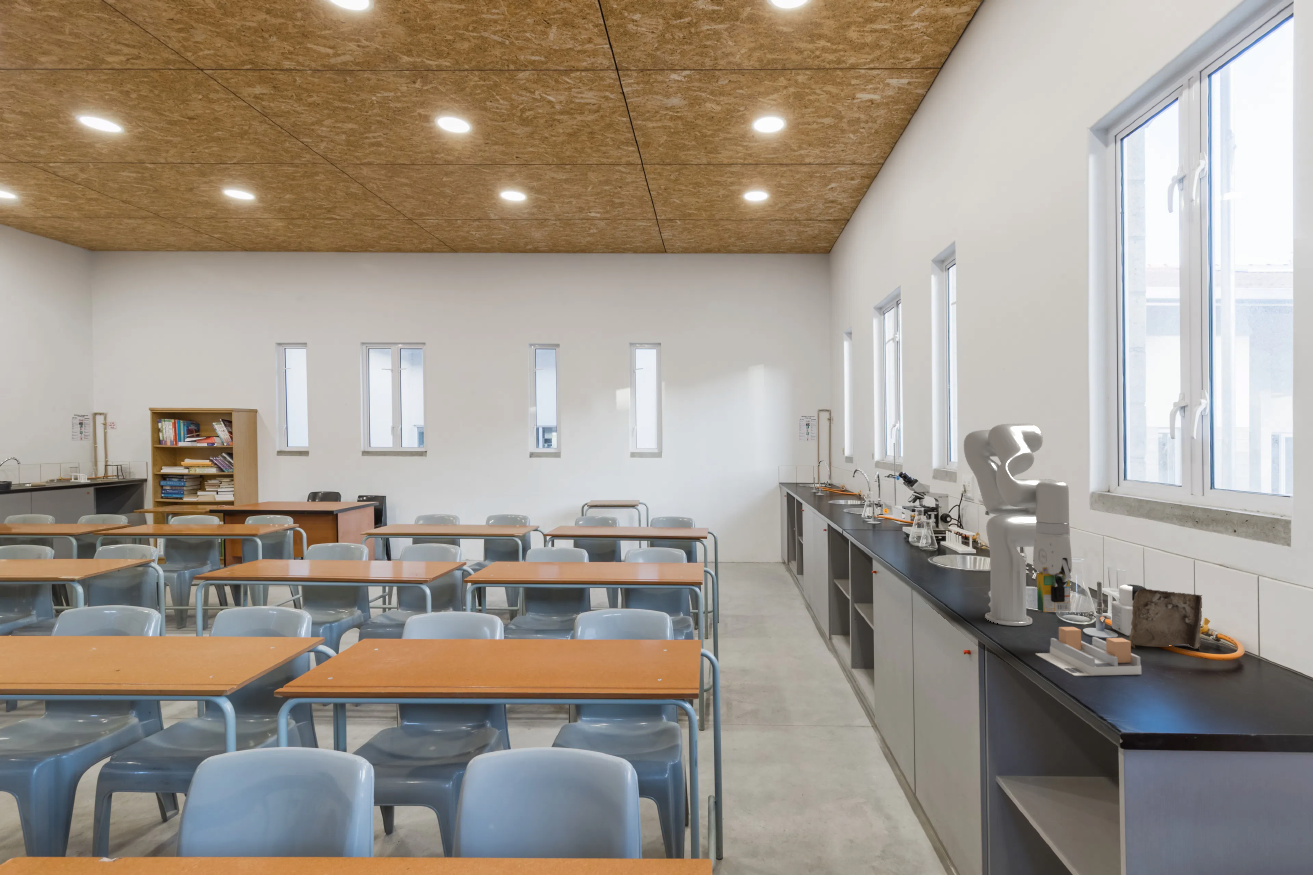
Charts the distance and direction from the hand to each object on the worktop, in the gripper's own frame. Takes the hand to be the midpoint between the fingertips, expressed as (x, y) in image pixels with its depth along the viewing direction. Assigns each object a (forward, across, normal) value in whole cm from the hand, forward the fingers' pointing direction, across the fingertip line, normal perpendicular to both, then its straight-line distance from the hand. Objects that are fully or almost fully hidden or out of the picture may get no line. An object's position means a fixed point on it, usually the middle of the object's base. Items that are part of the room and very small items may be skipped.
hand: (1053, 599), depth 183 cm
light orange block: (+11, +16, +6) cm, 20 cm away
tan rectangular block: (+11, +6, 0) cm, 12 cm away
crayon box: (+3, 0, 0) cm, 3 cm away
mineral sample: (+13, 0, +29) cm, 32 cm away
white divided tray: (+13, +11, +1) cm, 17 cm away
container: (+13, -14, +31) cm, 36 cm away
